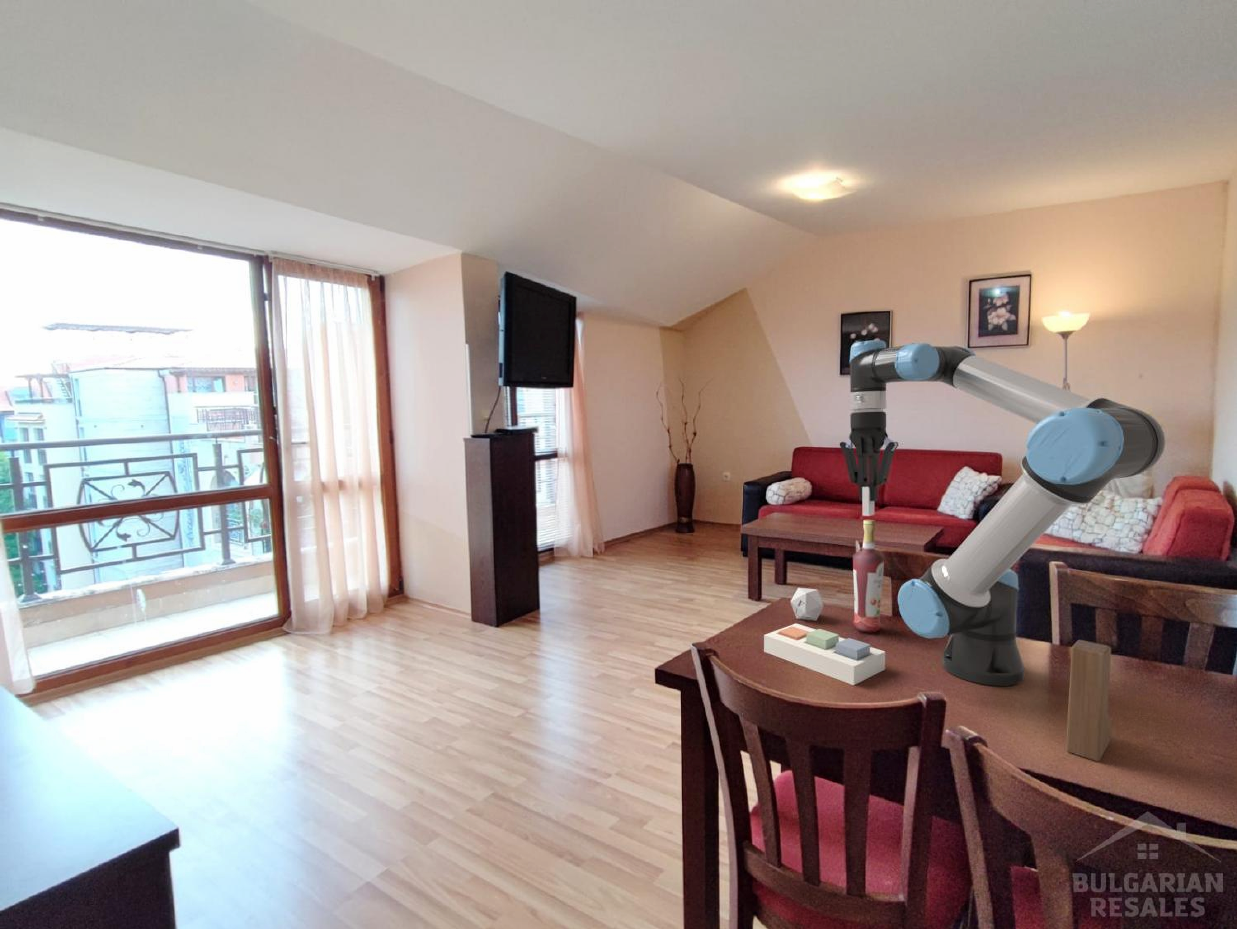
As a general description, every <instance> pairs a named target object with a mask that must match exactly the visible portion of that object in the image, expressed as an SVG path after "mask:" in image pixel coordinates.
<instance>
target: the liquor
mask: <svg viewBox="0 0 1237 929" xmlns="http://www.w3.org/2000/svg"><path fill="white" fill-rule="evenodd" d="M862 527H863V532H864V534H863V539H862V540H863V541H862V548H861V550H858V551H857V552H855V553H854V554H853V555H852V569H853V570H852V572H853V575H852V576H853V599H854V600H853V602H854V606H853V607H854V614H853V615H854V618H853V619H854V620H853V622H852V625H853V626H854V627H855V628H856V629H857V630H858V631H859V632H862V633H868V634H869V633H871V634H872V633H876V632H877V631H878V630H880V629H881V628H882V627H883V626H882V623H881V622H880V621H881V605H882V604H881V602H882V593H883V592H882V591H883V590H882V589H883V579H884V566H885V557H884V555H882V554H881V553H880V552H877V551H876V546H875V545H876V544H875V534H874V533H875V528H876V521H875V520H874V519H863V526H862Z"/></svg>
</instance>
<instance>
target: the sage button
mask: <svg viewBox="0 0 1237 929" xmlns="http://www.w3.org/2000/svg"><path fill="white" fill-rule="evenodd" d="M839 637H840V635H839V634H838V633H835V632H831V631H828V630H824V629H822V628H818V629H815V631H812V632H810V633H807V634H806V644H809V645H812V646H815V647H818V648H821V649H824V650H828V649H831V648H833V647H835V646H836V643H838V642H839Z"/></svg>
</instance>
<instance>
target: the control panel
mask: <svg viewBox="0 0 1237 929" xmlns="http://www.w3.org/2000/svg"><path fill="white" fill-rule="evenodd" d="M792 626H793V627H796V628H799V629H802V630H805V631H808V632H812V631H815V630H816V629H815V628H813V627H812V628H811V627H809V626H806V625H803V624H799V623H793V624H791V625H788V626H785V627H782V628H779V629H777V630H773V631H772V632H768V633H766V634H763V652H764V653H767V654H769V655H772V656H774V657H776V658H780V659H783V660H785V661H788V662H790V663H793V664H796V665H799V666H800V667H803V668H806V669H809V670H811V671H814V672H817V673H821V674H823V675H825V676H827V677H831V678H832V679H833V678H834V679H835V680H838V681H841V682H843V683H847V684H849V685H851V686H856V685H857V684H859V683H861V682H863V681H865V680H867V679H869V678H871V677H873V676H874V675H877V674H879V673H881V672H882V671H885V669H886V650H885V651H884V650H881V649H878V648H875V647H872V646H870V656H867V657H865V658H863V659H861V660H859V661H856V660H853V659H850V658H847V657H844V656H841V655H838V654H836V646H835V647H833V648H831V649H828V650H824V649H821V648H818V647H815V646H812V645H809V644H806V637H805V638H802V639H800V640H794V639H791V638H789V637H786V636H783V635H780V634H779V631H781V630H784V629H786V628H789V627H792ZM845 639H846V638H843V637H840V636H839V642H841V641H843V640H845Z"/></svg>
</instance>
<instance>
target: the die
mask: <svg viewBox="0 0 1237 929" xmlns="http://www.w3.org/2000/svg"><path fill="white" fill-rule="evenodd" d="M790 605H791V608H792V610H793V613H794V615H795V619H798V620H806V621H815V622H816V621H818V618H819V616H820V615H821V613H822V611H823V609H824V602H823V600H822V598H821V595H820V592H819V589H816V588H815V589H814V588H804V587H798V588H797V589H796V591H795V593H794V595H793V596H792V598H791V600H790Z"/></svg>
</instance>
